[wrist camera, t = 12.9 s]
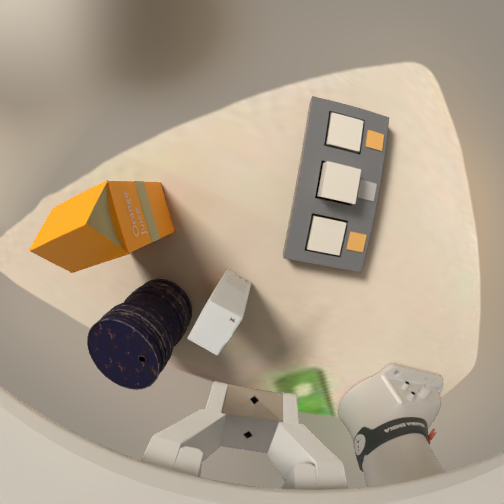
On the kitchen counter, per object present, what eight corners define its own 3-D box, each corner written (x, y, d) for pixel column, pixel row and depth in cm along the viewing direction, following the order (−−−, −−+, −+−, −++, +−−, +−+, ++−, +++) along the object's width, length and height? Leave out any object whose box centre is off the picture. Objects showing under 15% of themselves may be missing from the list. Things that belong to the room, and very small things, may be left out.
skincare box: (226, 267, 41) (209, 297, 29) (252, 282, 41) (245, 318, 29) (207, 300, 42) (185, 339, 30) (232, 314, 42) (218, 357, 31)
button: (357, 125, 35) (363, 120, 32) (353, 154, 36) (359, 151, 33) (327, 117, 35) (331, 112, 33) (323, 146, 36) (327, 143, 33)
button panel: (382, 121, 35) (389, 117, 32) (356, 267, 40) (361, 272, 37) (309, 101, 35) (312, 95, 32) (282, 254, 40) (283, 258, 37)
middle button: (354, 170, 35) (361, 169, 32) (349, 203, 36) (355, 204, 33) (323, 163, 35) (327, 161, 32) (317, 196, 36) (321, 196, 33)
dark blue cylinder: (142, 333, 44) (100, 384, 30) (130, 279, 42) (77, 316, 28) (197, 335, 44) (168, 394, 29) (188, 277, 42) (149, 320, 27)
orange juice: (175, 232, 40) (100, 269, 21) (126, 248, 41) (39, 289, 22) (160, 180, 39) (74, 178, 19) (112, 200, 40) (17, 213, 20)
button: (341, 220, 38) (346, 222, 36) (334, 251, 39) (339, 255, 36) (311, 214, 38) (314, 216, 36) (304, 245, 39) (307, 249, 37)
